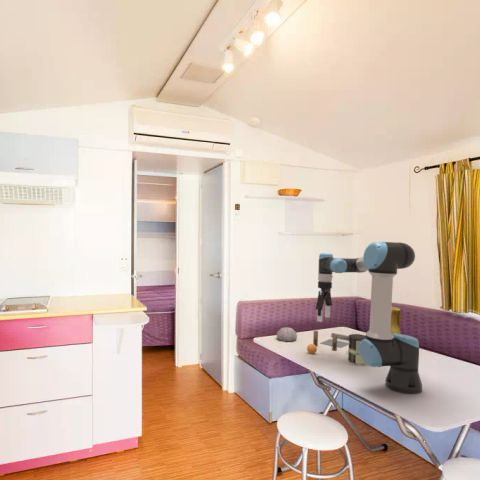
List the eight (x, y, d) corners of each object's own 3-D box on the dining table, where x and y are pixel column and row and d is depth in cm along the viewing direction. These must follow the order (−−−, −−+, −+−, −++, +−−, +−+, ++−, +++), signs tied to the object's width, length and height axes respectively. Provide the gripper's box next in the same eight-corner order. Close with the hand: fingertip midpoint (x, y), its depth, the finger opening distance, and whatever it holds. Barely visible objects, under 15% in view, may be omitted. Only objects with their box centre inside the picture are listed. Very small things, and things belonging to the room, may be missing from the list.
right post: (335, 351, 227) (336, 335, 227) (331, 350, 229) (331, 334, 228) (337, 350, 229) (337, 334, 229) (333, 349, 231) (333, 334, 230)
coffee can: (345, 363, 204) (346, 336, 204) (350, 358, 213) (351, 333, 213) (365, 367, 199) (366, 339, 199) (369, 362, 208) (370, 335, 208)
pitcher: (366, 341, 248) (370, 303, 247) (396, 344, 247) (399, 305, 246) (374, 350, 231) (378, 309, 230) (406, 353, 230) (410, 311, 229)
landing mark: (340, 347, 234) (340, 347, 234) (319, 343, 243) (319, 343, 243) (350, 343, 244) (350, 343, 244) (329, 339, 253) (329, 339, 253)
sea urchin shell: (276, 342, 244) (276, 329, 244) (276, 336, 257) (276, 324, 257) (297, 343, 243) (298, 330, 243) (296, 337, 256) (296, 325, 256)
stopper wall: (357, 342, 248) (357, 338, 248) (331, 337, 259) (331, 333, 259) (358, 341, 249) (358, 337, 249) (332, 336, 261) (332, 332, 261)
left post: (316, 346, 235) (316, 331, 235) (312, 345, 237) (312, 331, 236) (318, 345, 237) (318, 331, 237) (314, 345, 239) (314, 330, 238)
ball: (313, 355, 216) (313, 345, 216) (305, 353, 220) (305, 343, 220) (318, 353, 221) (318, 343, 221) (309, 351, 224) (310, 342, 224)
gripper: (324, 284, 201) (323, 324, 202) (338, 279, 223) (336, 316, 223) (310, 282, 205) (309, 322, 205) (325, 278, 227) (324, 314, 227)
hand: (323, 319), depth 214 cm, fingers open, 13 cm apart
